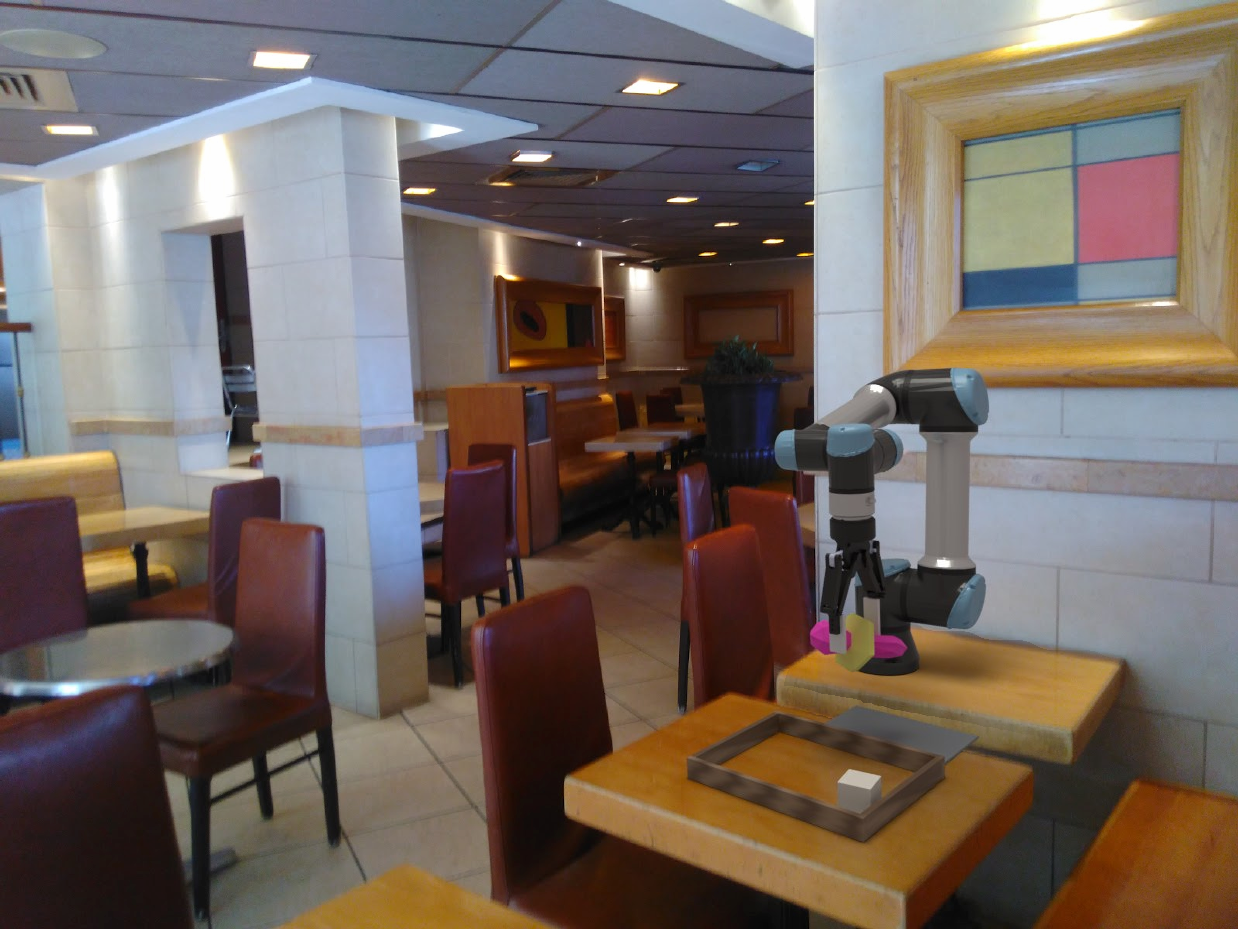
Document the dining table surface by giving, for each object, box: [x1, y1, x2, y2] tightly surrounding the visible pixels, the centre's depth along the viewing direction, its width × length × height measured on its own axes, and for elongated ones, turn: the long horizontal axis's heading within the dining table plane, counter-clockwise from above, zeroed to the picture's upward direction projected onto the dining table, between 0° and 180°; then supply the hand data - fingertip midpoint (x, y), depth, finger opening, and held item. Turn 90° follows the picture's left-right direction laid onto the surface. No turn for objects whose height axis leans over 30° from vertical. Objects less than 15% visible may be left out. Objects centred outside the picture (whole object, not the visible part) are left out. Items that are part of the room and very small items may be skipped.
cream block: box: [836, 768, 883, 814], centre depth 135 cm, size 5×5×5 cm
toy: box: [809, 612, 907, 673], centre depth 156 cm, size 10×18×10 cm, turn 107°
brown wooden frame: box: [686, 710, 946, 843], centre depth 146 cm, size 32×26×4 cm
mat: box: [824, 704, 980, 765], centre depth 161 cm, size 24×18×1 cm
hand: (855, 643), depth 154 cm, fingers closed on toy, 10 cm apart
